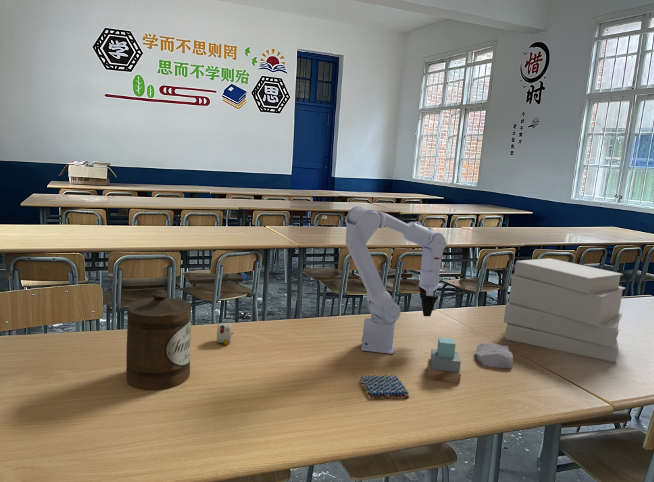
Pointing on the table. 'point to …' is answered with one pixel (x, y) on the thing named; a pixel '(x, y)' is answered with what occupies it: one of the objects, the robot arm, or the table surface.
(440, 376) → the tower base
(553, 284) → the book stack
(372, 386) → the woven mat
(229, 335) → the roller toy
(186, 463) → the table surface
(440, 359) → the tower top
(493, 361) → the stone block
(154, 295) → the wooden container
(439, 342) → the teal cube
